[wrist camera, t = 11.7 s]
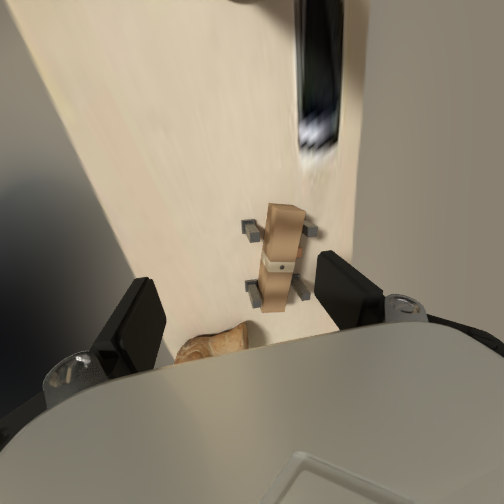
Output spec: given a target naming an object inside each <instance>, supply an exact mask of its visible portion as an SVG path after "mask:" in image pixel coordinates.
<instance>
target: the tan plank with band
mask: <svg viewBox="0 0 504 504" xmlns="http://www.w3.org/2000/svg"><path fill="white" fill-rule="evenodd" d="M305 214H306V211H304V210H302V209H300V208H297V207H295V206H293V205H285V204H273V203H269V206H268V213H267V220H266V227H265V234H264V242H263V249H262V254H261V263H260V270H259V277H258V285H257V290H258V293H259V295H260V298H261V307H260V308H261V311H262V313H270V312H284V311H285V307H286V302H287V297H288V293H289V288H290V283H291V279H292V274H293V271H294V267H295V260H296V256H297V251H298V246H299V242H300V237H301V232H302V228H303V223H304V218H305Z"/></svg>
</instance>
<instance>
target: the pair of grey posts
mask: <svg viewBox="0 0 504 504" xmlns="http://www.w3.org/2000/svg"><path fill="white" fill-rule="evenodd" d="M291 285H292V286H293V288H294V289H295V291H296V292H297V294H298V295H299V297H300V298H301V300H302V301H304V300H310V294H311V293H310V291H309V290H308V289H307V287H306V286H305V285H304V284H303V282H302V281H301V280H300V274H293V275H292V279H291V283H290V286H291ZM245 290H246V292H248V293H249V296H250V300H251V303H252V307H253V308H259V307H261V298H260V295H259V293H258V290H257V280H256V279H254V280H247V281H245Z"/></svg>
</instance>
